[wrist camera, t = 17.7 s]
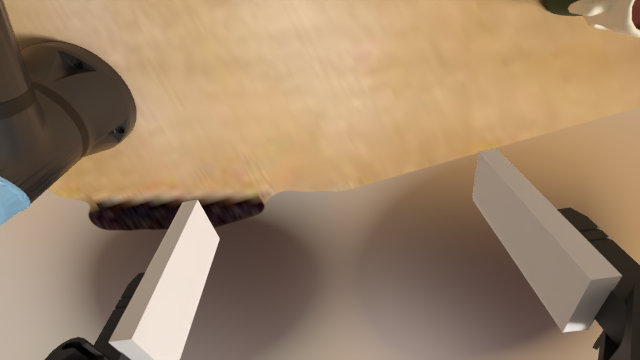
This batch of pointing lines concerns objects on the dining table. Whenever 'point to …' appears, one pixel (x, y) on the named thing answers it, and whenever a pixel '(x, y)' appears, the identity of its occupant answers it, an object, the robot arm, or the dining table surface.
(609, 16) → the character mug
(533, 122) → the dining table surface
